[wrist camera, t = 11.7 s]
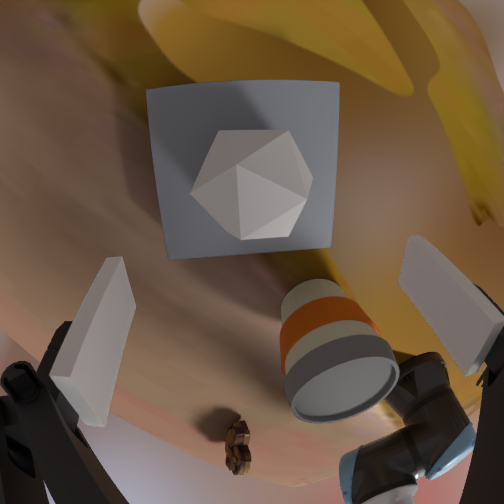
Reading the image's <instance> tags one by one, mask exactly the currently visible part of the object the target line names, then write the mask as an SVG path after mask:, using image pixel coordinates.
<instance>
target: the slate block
mask: <svg viewBox="0 0 504 504" xmlns="http://www.w3.org/2000/svg"><path fill="white" fill-rule="evenodd" d="M146 98H147V110H148V121H149V131H150V140H151V149H152V158H153V166H154V173H155V181H156V188H157V195H158V201H159V208H160V214H161V220H162V226H163V232H164V238H165V244H166V249H167V255H168V260H177V259H190V258H203V257H216V256H229V255H241V254H254V253H267V252H279V251H292V250H305V249H317V248H330V247H331V237H332V226H333V215H334V203H335V189H336V173H337V155H338V127H339V82H325V81H307V80H236V81H219V82H206V83H193V84H184V85H175V86H167V87H160V88H153V89H147V90H146ZM219 130H289V132H290V134H291V136H292V137H293V139H294V141H295V143H296V145H297V147H298V149H299V151H300V153H301V155H302V157H303V158H304V160H305V162H306V164H307V166H308V168H309V170H310V172H311V174H312V176H313V180H312V184H311V188H310V191H309V195H308V198H307V201H306V203H305V205H304V207H303V209H302V211H301V213H300V215H299V217H298V219H297V221H296V223H295V225H294V227H293V229H292V231H291V233H290V234H289V236H288V237H274V238H261V239H248V240H240V239H238V238H237V237H235V236H233V235H232V234H230V233H228V232H227V231H226V230H225V229H224V228H223V227H222V226H221V225H220V224H219V223H218V222H217V221H216V220H215V219H214V218H213V217H212V216H211V215H210V214H209V213H208V212H207V211H206V210H205V209H204V208H203V207H202V206H201V205H200V204H199V202H198V201H197V200H196V199H195V198H194V197H193V196H192V195H191V194H190V192H191V190H192V188H193V185H194V183H195V181H196V179H197V176H198V174H199V172H200V170H201V167H202V165H203V163H204V161H205V159H206V156H207V154H208V152H209V150H210V148H211V146H212V144H213V142H214V139H215V137H216V135H217V133H218V131H219Z"/></svg>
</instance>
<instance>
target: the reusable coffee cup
mask: <svg viewBox="0 0 504 504" xmlns="http://www.w3.org/2000/svg"><path fill="white" fill-rule="evenodd" d="M281 319H282V328H281V332H280V350H281V365H282V371H283V373H284V375H285V376H286V377H285V381H284V391H285V394H286V397H287V399H288V402H289V405H290V407H291V410H292V412H293V414H294V415H295V416H296V417H297V418H298V419H300V420H302V421H305V422H309V423H331V422H337V421H341V420H345V419H348V418H351V417H354V416H356V415H358V414H361V413H363V412H365V411H367V410H368V409H370V408H372V407H373V406H375V405H376V404H378V403H379V402H380V401H381V400H383V399H384V398H385V397H386V396H387V395H388V394H389V393H390V392H391V391H392V389H393V388H394V386H395V385H396V383H397V381H398V378H399V373H400V371H399V367H398V364H397V361H396V359H395V356H394V354H393V351H392V349H391V346H390V345H389V344H388V342H387V341H385V340H384V339H382V338H381V337H380V334H379V330H378V329H377V327H376V326H375V325H374V323H373V322H372V321H371V319H370V318H369V317H368V316H367V315H366V313H365V312H364V311H363V310H362V309H361V307H360V306H359V305H358V304H357V303H356V302H354V301H353V300H351V299H349V298H348V297H347V295H346V294H345V293H344V292H343V291H342V289H341V288H340V287H339V286H338V285H337V284H336V283H334V282H332V281H330V280H326V279H312V280H308V281H305V282H303V283H301V284H299V285H297V286H295V287H294V288H293V289H292V290H290V291H289V292H288V293H287V295H286V296H285V298H284V300H283V302H282V305H281Z"/></svg>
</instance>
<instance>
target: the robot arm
mask: <svg viewBox="0 0 504 504" xmlns="http://www.w3.org/2000/svg"><path fill="white" fill-rule="evenodd" d="M398 284H399V285H400V287H401V288H402V289H403V291H404V292H405V293H406V295H407V296H408V297H409V298H410V300H411V301H412V302H413V304H414V305H415V306H416V308H417V309H418V310H419V311H420V313H421V314H422V316H423V317H424V318H425V320H426V321H427V322H428V324H429V325H430V327H431V328H432V329H433V331H434V332H435V333H436V335H437V336H438V338H439V339H440V341H441V342H442V344H443V345H444V347H445V348H446V349H447V351H448V352H449V354H450V355H451V357H452V358H453V359H454V361H455V363H456V364H457V366H458V367H459V369H460V370H461V372H462V373H463V375H464V377H466V376H468V375H471V374H473V373H475V372H477V371H478V370H479V368H480V367H481V365H482V363H483V362H485V363H486V364H487V367H486V369H485V371H484V372H483V374H482V375H481V377H480V378H479V380H478V381H477V384H476V385H477V386H478V385H479V384H480V382H481V381H482V380H483V384H482V386H481V387H483V391H482V400H481V408H480V415H479V422H478V429H477V434H476V433H475V431H474V429H473V426H472V423H471V422H470V420H469V418H468V417H467V415H466V413H465V411H464V409H463V408H462V406H461V404H460V402H459V401H458V399H457V397H456V396H455V394H454V392H453V391H452V389H451V386H450V382H449V377H448V372H447V368H446V363H445V361H444V360H443V358H442V356H441V355H440V354H439V353H437V352H427V353H423V354H420V355H418V356H416V357H414V358H412V359H410V360H408V361H406V362H405V363H403V364H402V365H400V366H399V371H400V373H399V378H398V381H397V383H396V385H395V386H394V388H393V389H392V391H391V392H390V393H389V394H388V395H387V396H386V397H385V398H384V400H385V402H386V403H387V404H388V405H389V406H390V407H391V408H392V409H393V410H394V411H395V412H396V413H397V414H398V415H399V416H400V417H401V418H402V420H403V422H404V424H405V426H406V427H404V428H402V429H400V430H398V431H396V432H393V433H391V434H389V435H387V436H385V437H382V438H380V439H378V440H375V441H373V442H371V443H368V444H366V445H361V446H359V447H358V448H357V449H355V450H352V451H350V452H348V453H346V454H344V455H343V456H342V458H341V460H340V464H339V478H340V486H341V490H342V492H343V498H344V501H345V503H346V504H415V502H414V499H413V497H414V495H415V493H416V491H417V489H418V485H417V483H416V480H418V479H420V478H422V477H424V476H426V478H427V479H428V480H433V479H435V478H437V477H438V476H440V475H442V474H444V473H445V472H447V471H448V470H450V469H451V468H452V467H454V466H455V465H456V464H458V463H459V462H460V461H461V460H462V459H463V458H465V457H466V456H467V455H468V454H469V453H470V452H471V451H472V450H473V449H474V450H473V455H472V459H471V463H470V467H469V471H468V475H467V479H466V483H465V486H464V489H463V493H462V496H461V499H460V503H459V504H504V312H503V311H502V310H501V309H500V307H499V306H498V305H497V304H496V303H495V302H493V300H492V299H491V298H490V297H488V295H487V294H486V293H485V292H484V291H483V290H482V289H481V288H480V287H479V286H477V285H475V284H474V283H472V282H471V281H470V280H469V279H468V278H467V277H466V276H465V275H464V274H463V273H461V271H460V270H459V269H458V268H457V267H456V266H454V265H453V264H452V263H451V262H450V261H449V260H448V259H447V258H446V257H445V256H444V255H443V254H442V253H441V252H440V251H438V250H437V249H436V248H435V247H434V246H433V245H432V244H431V243H429V242H428V241H427V240H426V239H425V238H424V237H423V236H422V235H411V236H409V237H408V241H407V246H406V250H405V255H404V260H403V264H402V268H401V272H400V276H399V280H398ZM135 309H136V304H135V300H134V297H133V294H132V290H131V287H130V283H129V280H128V276H127V272H126V268H125V265H124V261H123V257H122V256H120V257H107V258H106V260H105V261H104V263H103V265H102V267H101V268H100V270H99V272H98V274H97V276H96V278H95V279H94V281H93V283H92V285H91V287H90V289H89V291H88V292H87V294H86V296H85V298H84V300H83V302H82V304H81V306H80V308H79V310H78V312H77V314H76V316H75V318H74V320H73V321H65V322H64V323H63V324H62V325H61V326H60V327H59V328H58V329H57V330H56V332H55V334H54V336H53V338H52V340H51V342H50V344H49V346H48V348H47V349H48V350H46V352H45V354H44V356H43V359H42V361H41V363H40V365H39V367H38V370H37V372H36V371H35V370H34V368H33V367H32V365H31V364H30V363H28V362H26V361H18V362H15V363H13V364H11V365H10V366H9V367H7V369H6V370H5V371H4V372H3V374H2V376H1V379H0V380H1V381H0V382H1V383H0V385H1V387H2V388H3V389H4V390H5V392H6V393H7V394H8V395H7V396H0V504H49V501H48V498H47V494H46V489H45V485H44V482H45V484H46V486H47V488H48V490H49V492H50V494H51V496H52V497H53V500H54V502H55V503H56V504H129V503H128V502H127V500H126V499H125V497H124V496H123V495H122V493H121V492H120V491H119V489H118V488H117V487H116V485H115V484H114V482H113V481H112V480H111V478H110V477H109V475H108V474H107V472H106V471H105V469H104V468H103V466H102V465H101V463H100V462H99V460H98V459H97V457H96V455H95V454H94V452H93V451H92V449H91V447H90V446H89V444H88V442H87V441H86V439H85V437H84V435H83V434H82V432H81V430H80V429H79V428H78V427H77V423H78V419H79V417H80V418H81V420H82V421H83V422H84V423H85V424H86V425H88V426H96V427H106V422H107V417H108V413H109V408H110V404H111V399H112V395H113V391H114V386H115V382H116V378H117V374H118V370H119V366H120V362H121V359H122V355H123V351H124V347H125V344H126V340H127V337H128V333H129V330H130V326H131V323H132V319H133V316H134V313H135ZM43 480H44V481H43Z"/></svg>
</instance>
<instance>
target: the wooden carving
mask: <svg viewBox="0 0 504 504" xmlns="http://www.w3.org/2000/svg"><path fill="white" fill-rule="evenodd" d="M249 441H250V431H249V429H248V427H247V424H246V422H245V421H239V422H234V423H233V427H232V429H230V430H229V431H228V433H227V436H226V443H225V444H226V445H225V451H226V466H227V467H228V468H229V470H232V472H233V474H234V475H239V474H240V475H244V474H245V473H248V472H249V470H250V462H251V453H250V450H249V448H248V444H249Z"/></svg>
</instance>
